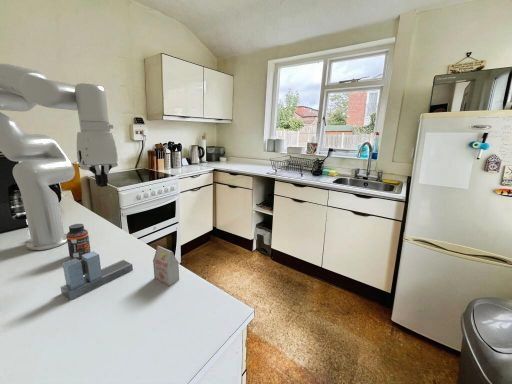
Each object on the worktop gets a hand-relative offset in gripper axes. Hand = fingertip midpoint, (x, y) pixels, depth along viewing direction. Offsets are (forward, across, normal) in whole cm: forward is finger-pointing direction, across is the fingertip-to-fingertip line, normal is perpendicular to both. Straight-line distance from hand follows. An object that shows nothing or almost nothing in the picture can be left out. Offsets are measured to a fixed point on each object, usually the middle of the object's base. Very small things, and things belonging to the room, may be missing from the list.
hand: (102, 186), depth 77 cm
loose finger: (+23, +11, +12) cm, 28 cm away
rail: (+25, +10, +12) cm, 29 cm away
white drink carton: (+25, -2, +27) cm, 37 cm away
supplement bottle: (+25, +6, -8) cm, 27 cm away
